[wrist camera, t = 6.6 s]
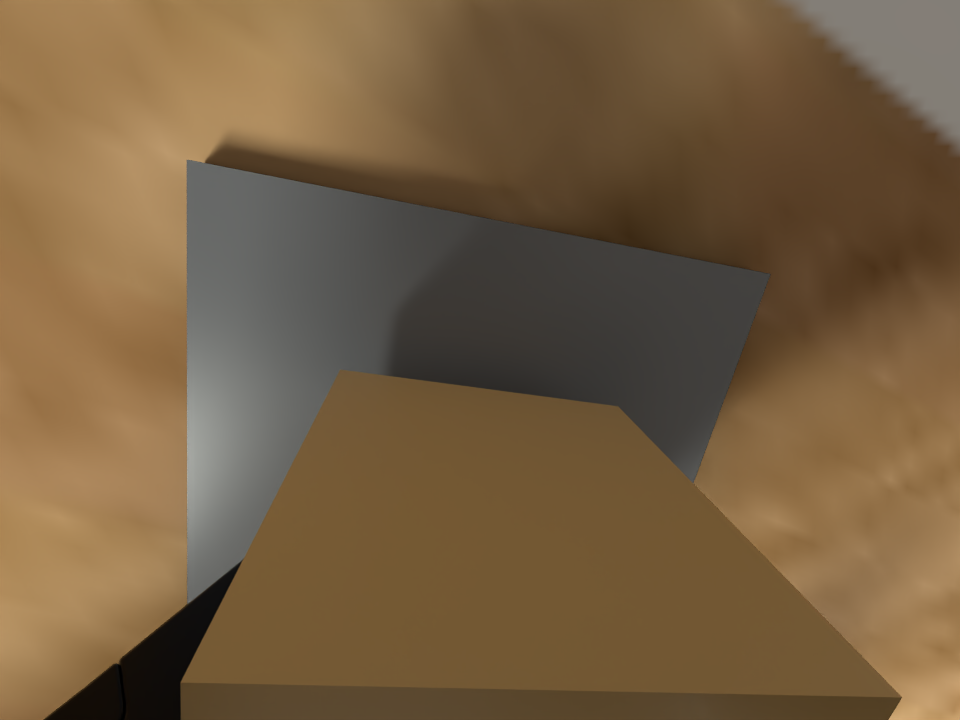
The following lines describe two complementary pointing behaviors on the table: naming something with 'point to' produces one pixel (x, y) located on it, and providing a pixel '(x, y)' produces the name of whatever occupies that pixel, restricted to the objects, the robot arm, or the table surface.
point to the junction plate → (421, 329)
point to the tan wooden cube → (508, 579)
